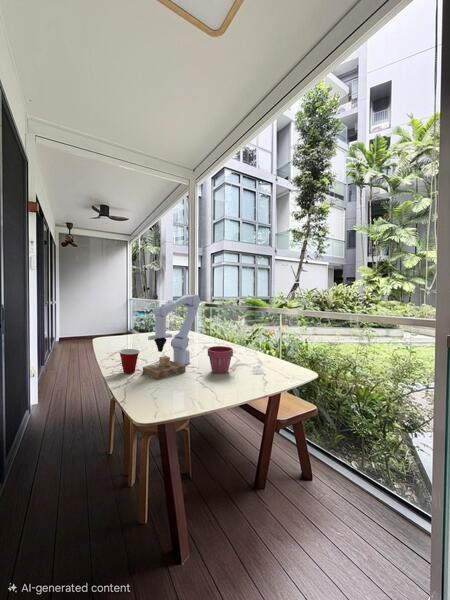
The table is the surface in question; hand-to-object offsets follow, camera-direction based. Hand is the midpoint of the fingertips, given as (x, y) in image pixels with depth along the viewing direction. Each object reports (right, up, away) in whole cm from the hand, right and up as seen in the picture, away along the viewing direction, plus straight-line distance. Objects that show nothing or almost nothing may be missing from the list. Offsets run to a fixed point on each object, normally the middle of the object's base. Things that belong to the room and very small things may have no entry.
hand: (160, 351), depth 149 cm
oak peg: (+4, -10, -5) cm, 12 cm away
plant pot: (+34, -11, -2) cm, 36 cm away
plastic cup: (-16, -11, -5) cm, 19 cm away
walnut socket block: (+4, -11, -5) cm, 12 cm away
